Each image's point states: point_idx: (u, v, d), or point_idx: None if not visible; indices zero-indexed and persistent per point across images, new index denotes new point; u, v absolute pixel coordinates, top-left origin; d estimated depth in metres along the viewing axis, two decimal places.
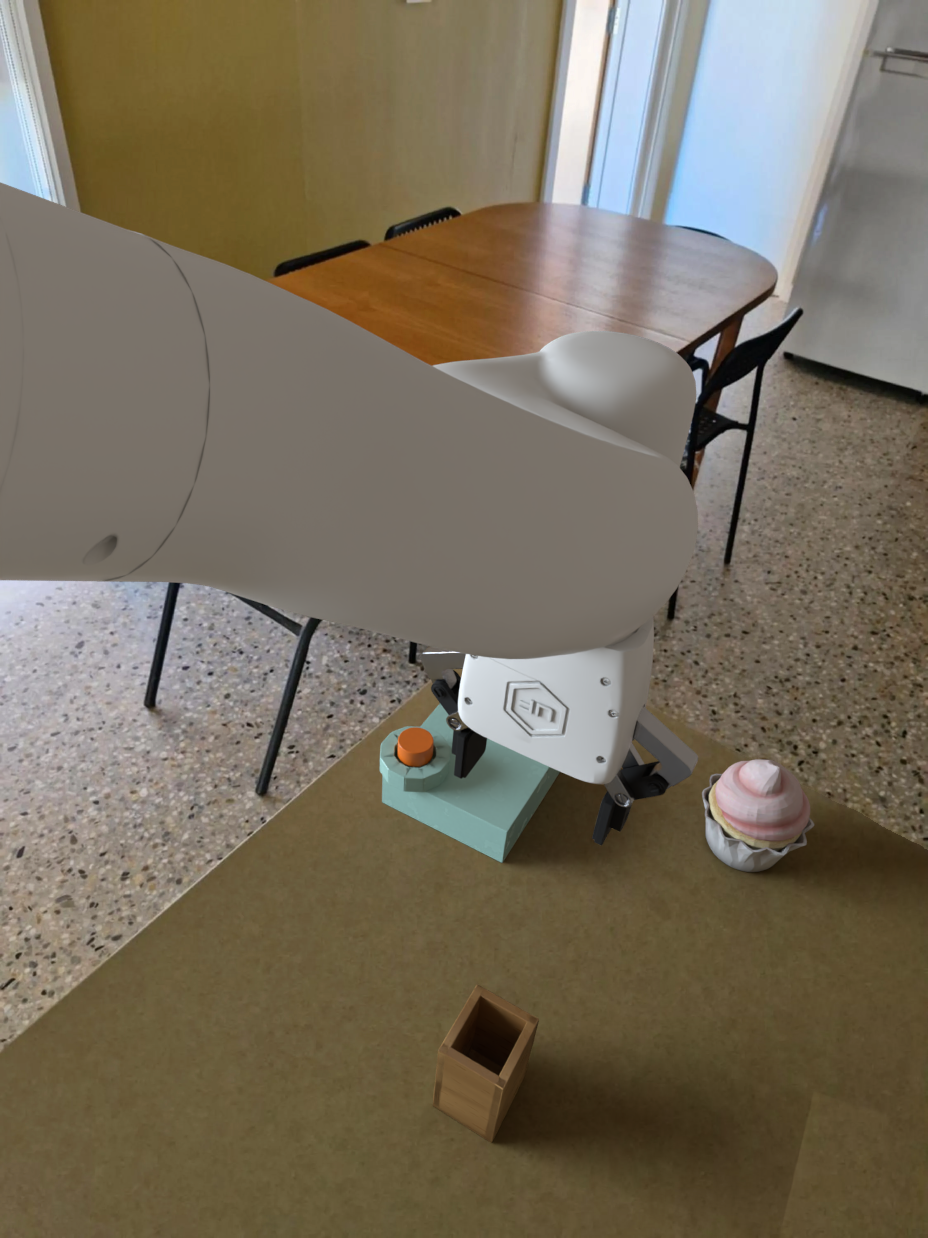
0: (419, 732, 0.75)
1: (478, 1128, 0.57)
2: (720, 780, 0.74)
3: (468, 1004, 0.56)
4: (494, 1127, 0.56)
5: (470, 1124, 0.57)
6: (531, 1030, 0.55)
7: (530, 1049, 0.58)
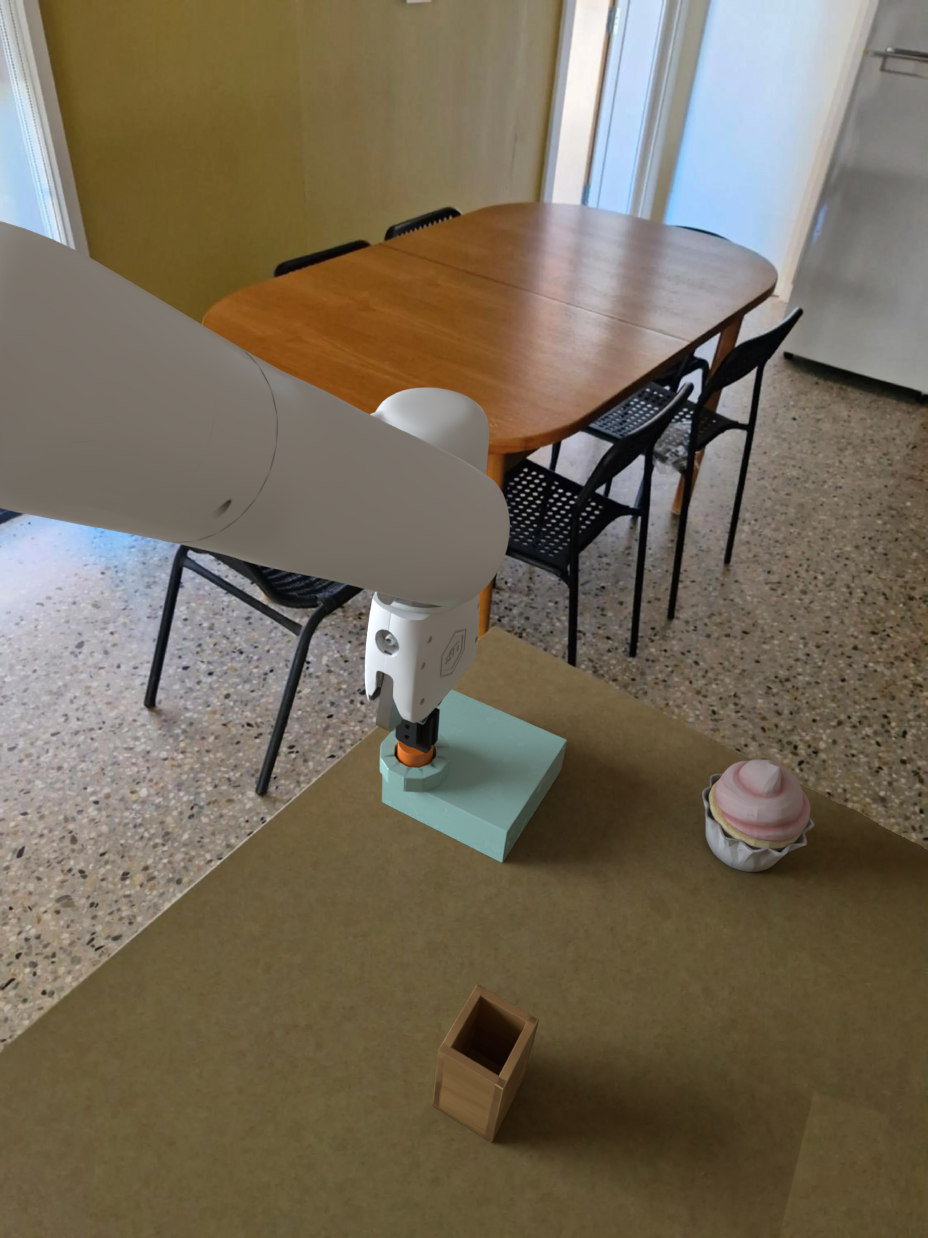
0: None
1: (478, 1128, 0.57)
2: (720, 780, 0.74)
3: (468, 1004, 0.56)
4: (494, 1127, 0.56)
5: (470, 1124, 0.57)
6: (531, 1030, 0.55)
7: (530, 1049, 0.58)
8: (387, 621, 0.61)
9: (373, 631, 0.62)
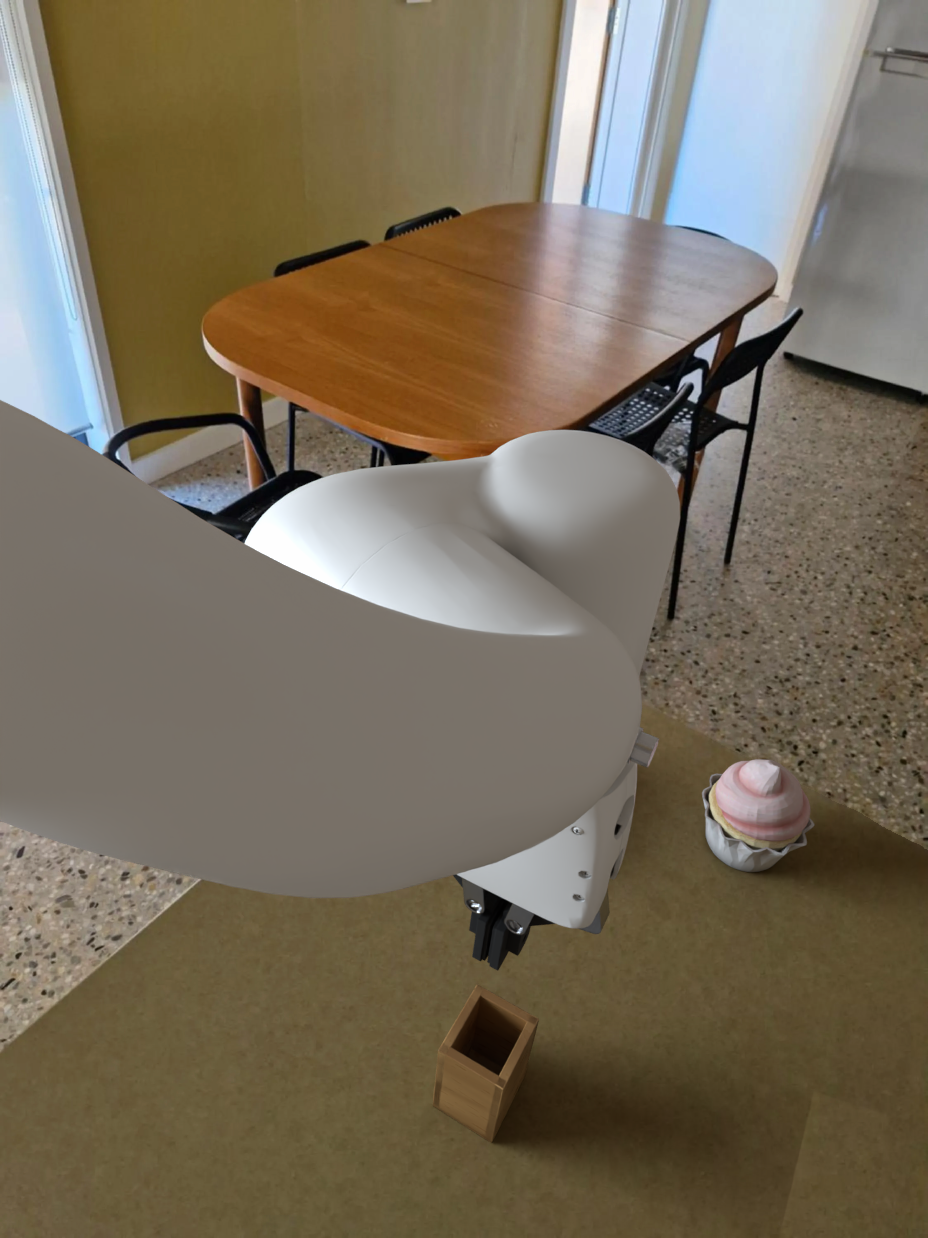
0: None
1: (478, 1128, 0.57)
2: (720, 780, 0.74)
3: (468, 1004, 0.56)
4: (494, 1127, 0.56)
5: (470, 1124, 0.57)
6: (531, 1030, 0.55)
7: (530, 1049, 0.58)
8: (625, 792, 0.38)
9: (610, 831, 0.38)
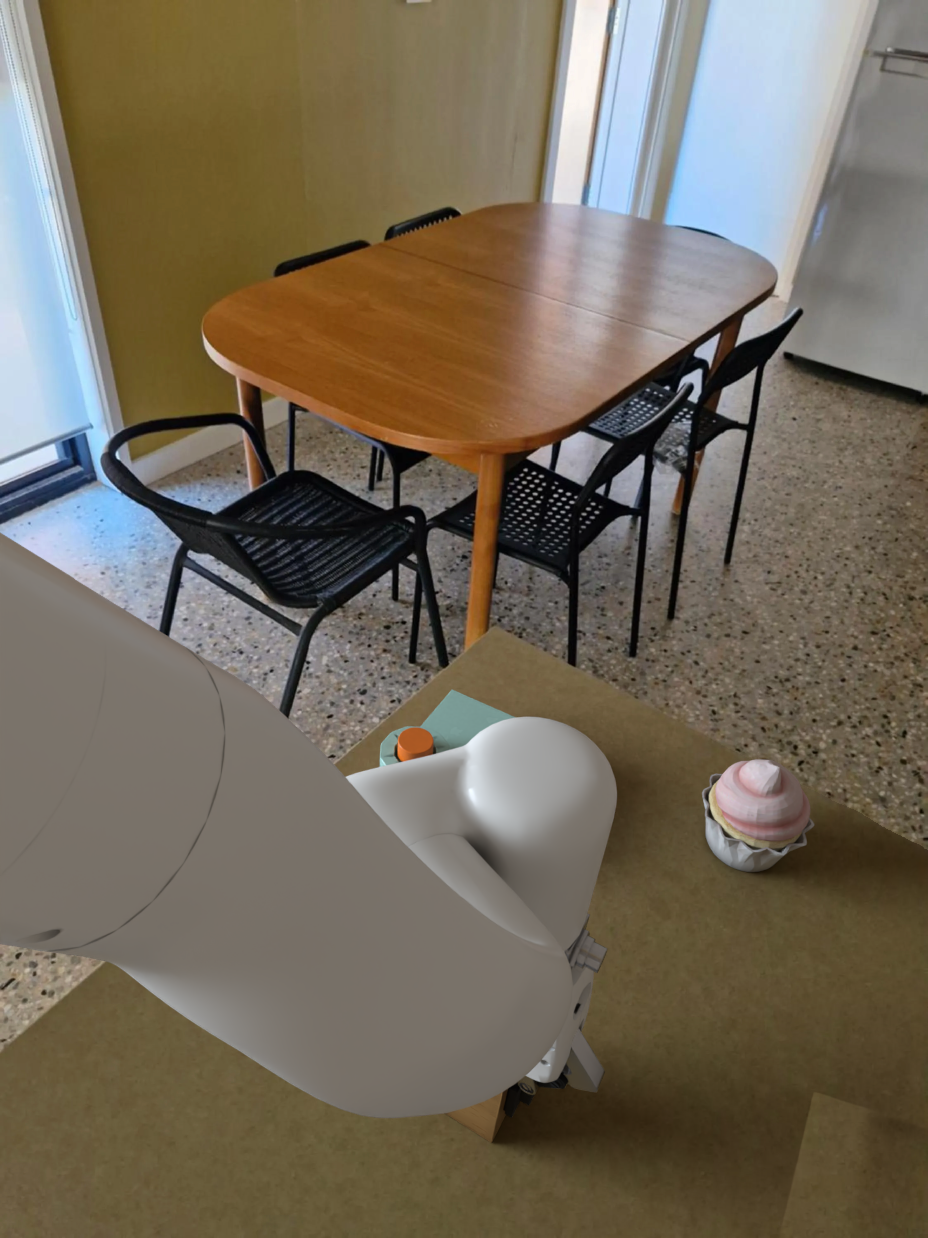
0: (419, 732, 0.75)
1: (478, 1128, 0.57)
2: (720, 780, 0.74)
3: None
4: (494, 1127, 0.56)
5: (470, 1124, 0.57)
6: None
7: None
8: (581, 984, 0.47)
9: (569, 1016, 0.47)
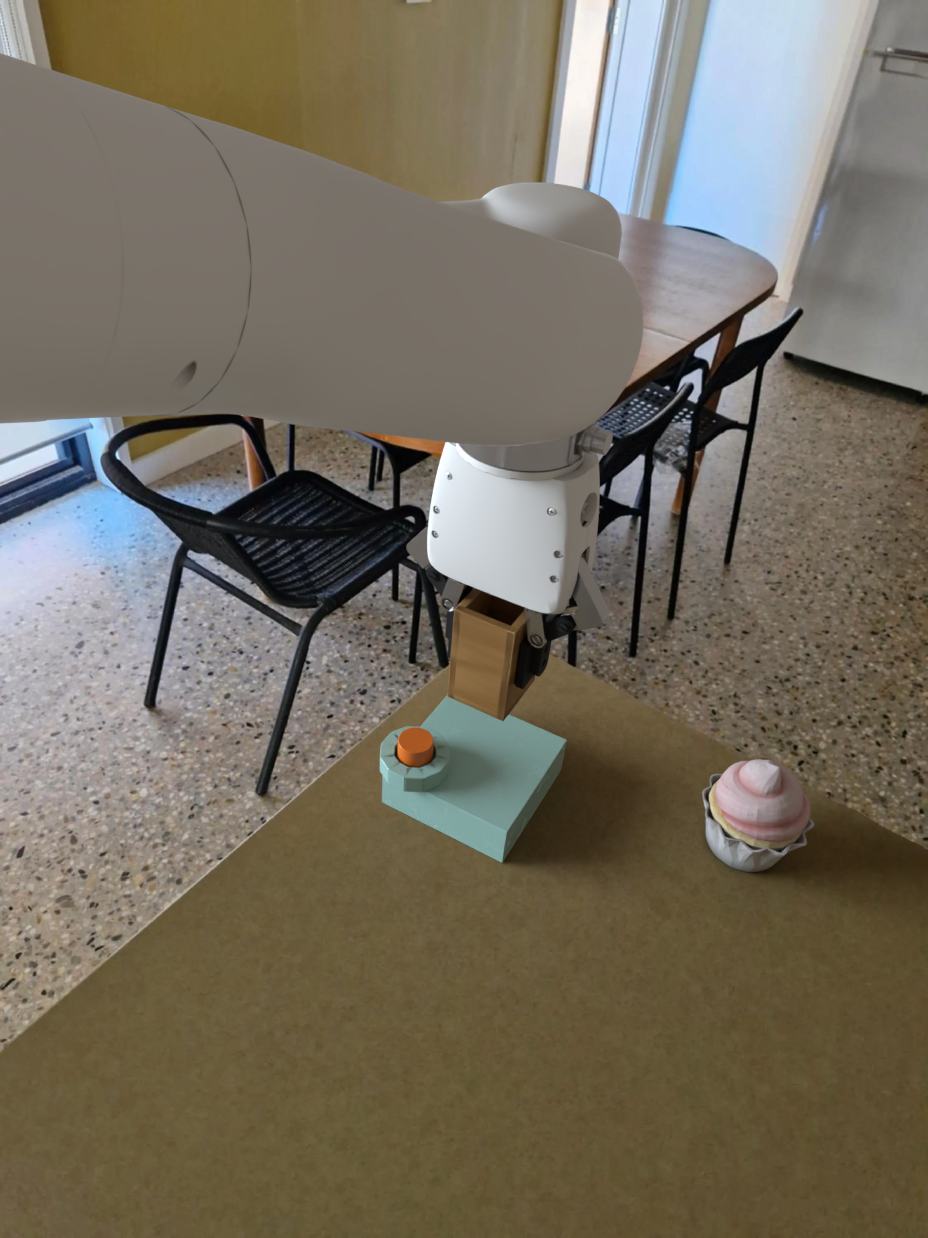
0: (419, 732, 0.75)
1: (491, 705, 0.61)
2: (720, 780, 0.74)
3: None
4: (506, 695, 0.60)
5: (483, 703, 0.61)
6: None
7: None
8: (588, 483, 0.50)
9: (577, 514, 0.50)
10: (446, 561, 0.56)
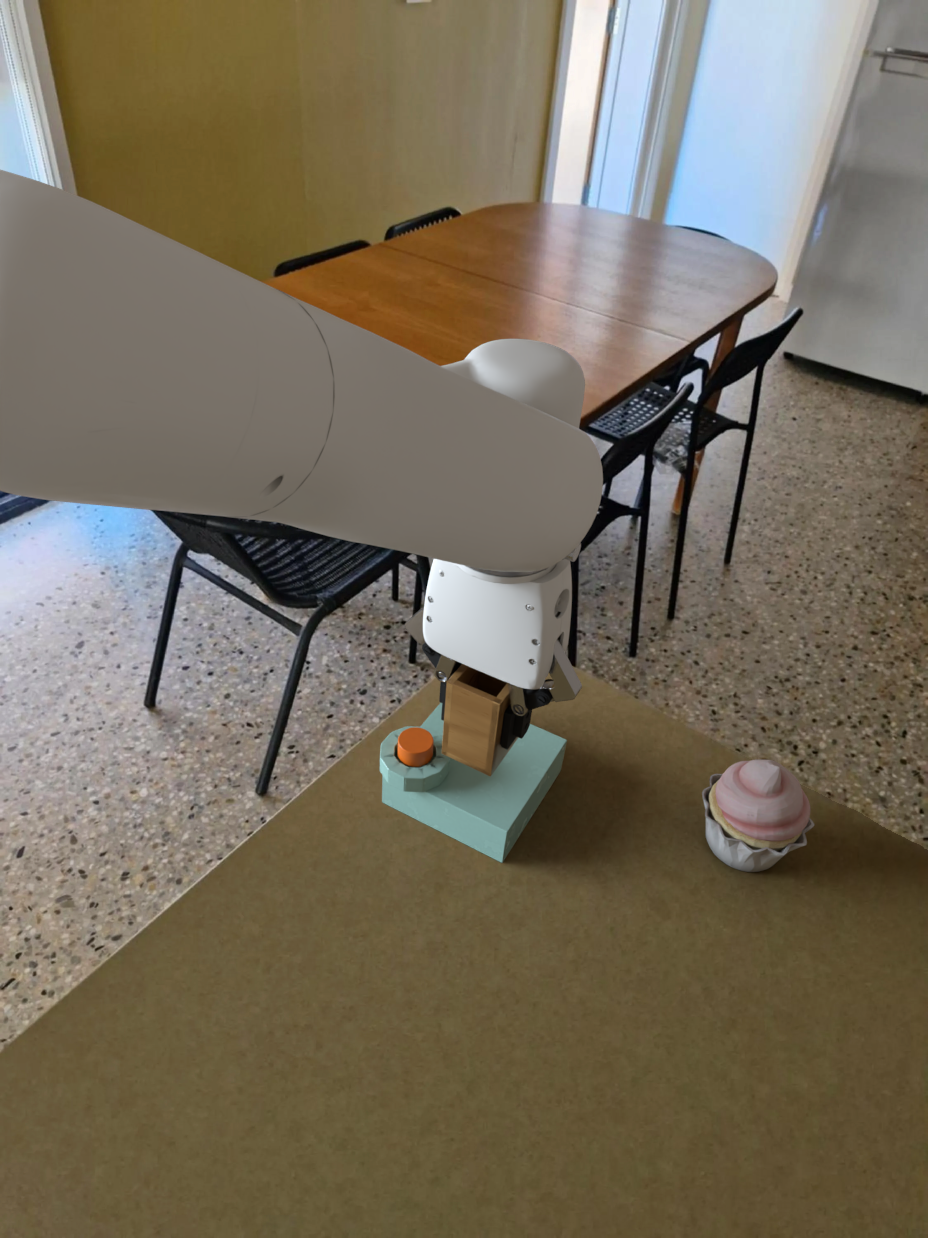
0: (419, 732, 0.75)
1: (479, 762, 0.69)
2: (720, 780, 0.74)
3: None
4: (492, 755, 0.68)
5: (472, 760, 0.70)
6: None
7: None
8: (561, 583, 0.59)
9: (551, 609, 0.59)
10: (439, 641, 0.65)
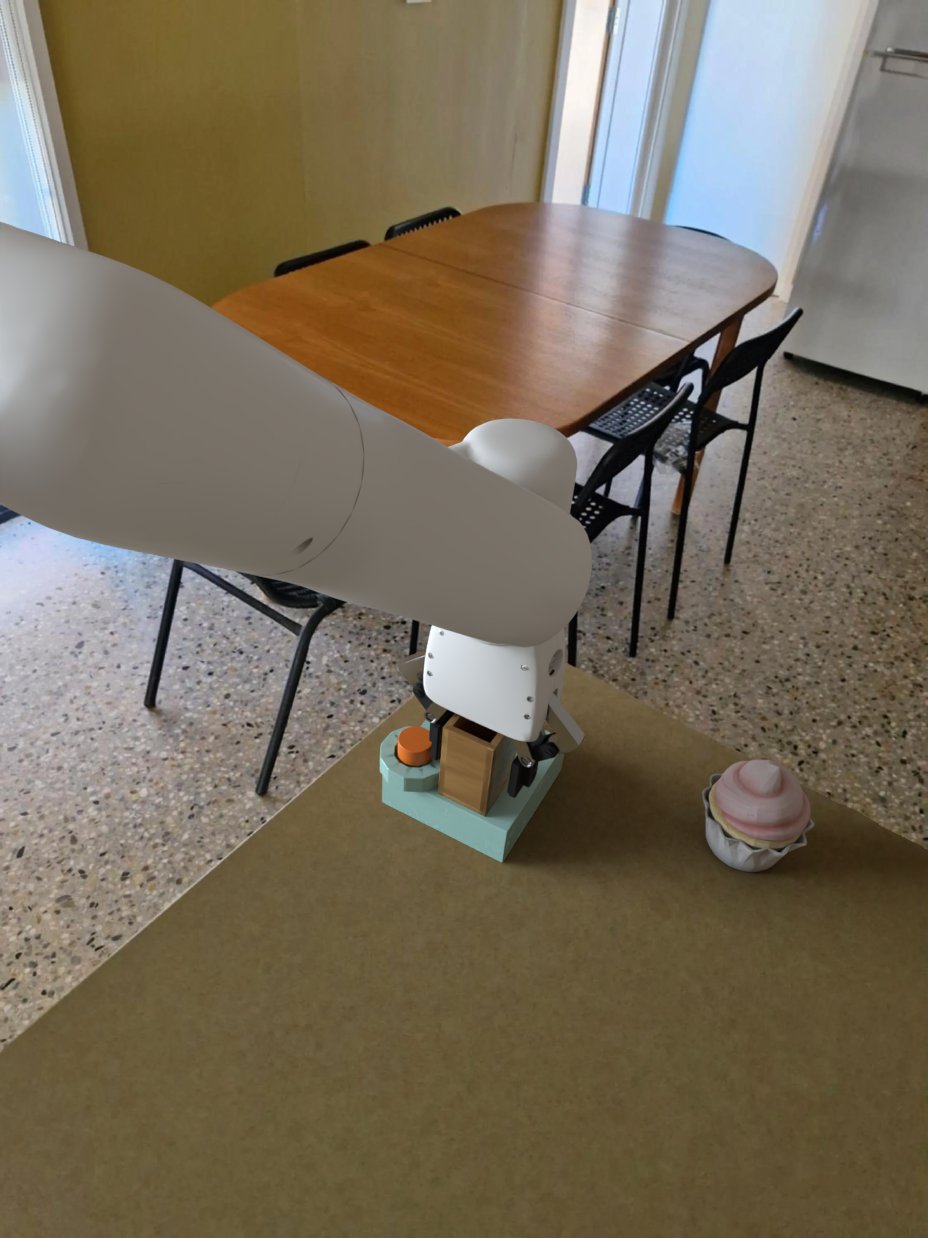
0: (419, 731, 0.75)
1: (474, 803, 0.72)
2: (720, 780, 0.74)
3: None
4: (487, 797, 0.71)
5: (468, 801, 0.73)
6: None
7: None
8: (554, 644, 0.62)
9: (545, 669, 0.62)
10: (439, 694, 0.68)
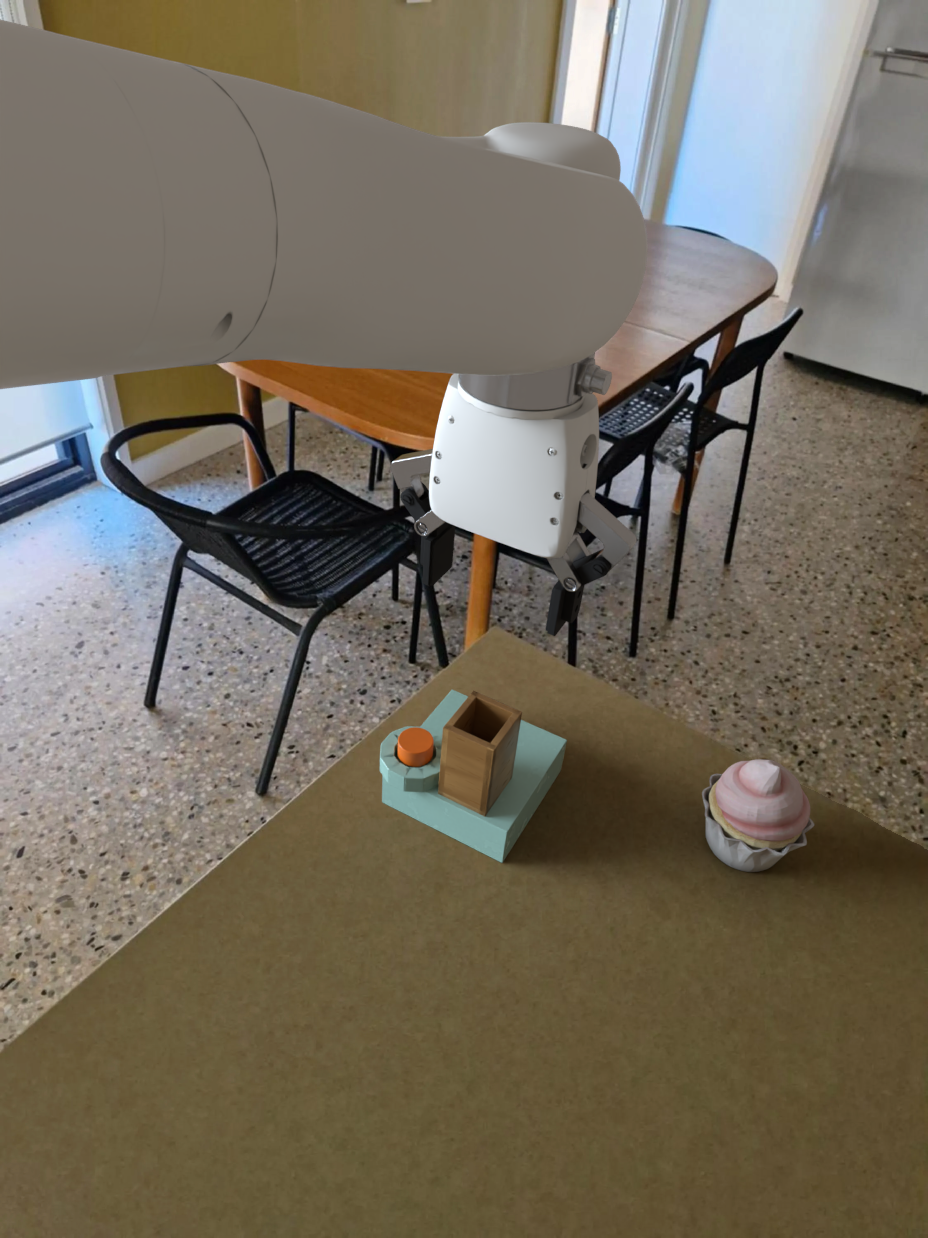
0: (419, 732, 0.75)
1: (474, 803, 0.72)
2: (720, 780, 0.74)
3: (466, 701, 0.71)
4: (487, 797, 0.71)
5: (468, 801, 0.73)
6: (516, 717, 0.70)
7: (515, 743, 0.73)
8: (588, 424, 0.51)
9: (577, 454, 0.51)
10: (448, 507, 0.57)
